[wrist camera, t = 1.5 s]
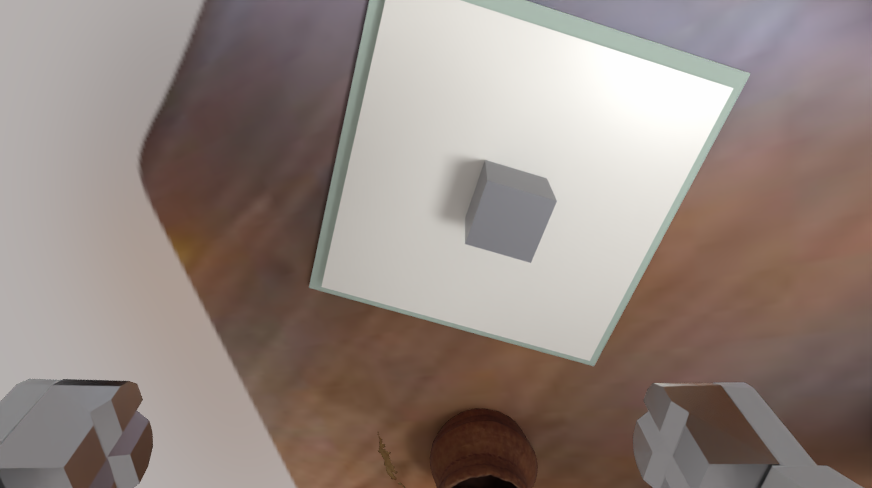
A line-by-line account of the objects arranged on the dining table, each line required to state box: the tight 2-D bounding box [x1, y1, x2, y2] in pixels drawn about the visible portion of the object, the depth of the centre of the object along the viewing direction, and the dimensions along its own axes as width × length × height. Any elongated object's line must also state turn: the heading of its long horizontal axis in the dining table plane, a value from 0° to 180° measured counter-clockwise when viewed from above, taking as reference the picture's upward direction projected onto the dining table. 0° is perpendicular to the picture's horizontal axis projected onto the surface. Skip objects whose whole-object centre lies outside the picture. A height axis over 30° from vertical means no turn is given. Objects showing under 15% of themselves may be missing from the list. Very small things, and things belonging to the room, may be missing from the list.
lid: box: [321, 0, 734, 361], centre depth 31 cm, size 20×20×5 cm
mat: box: [309, 0, 750, 366], centre depth 34 cm, size 22×22×1 cm
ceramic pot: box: [378, 409, 538, 488], centre depth 41 cm, size 18×18×7 cm
